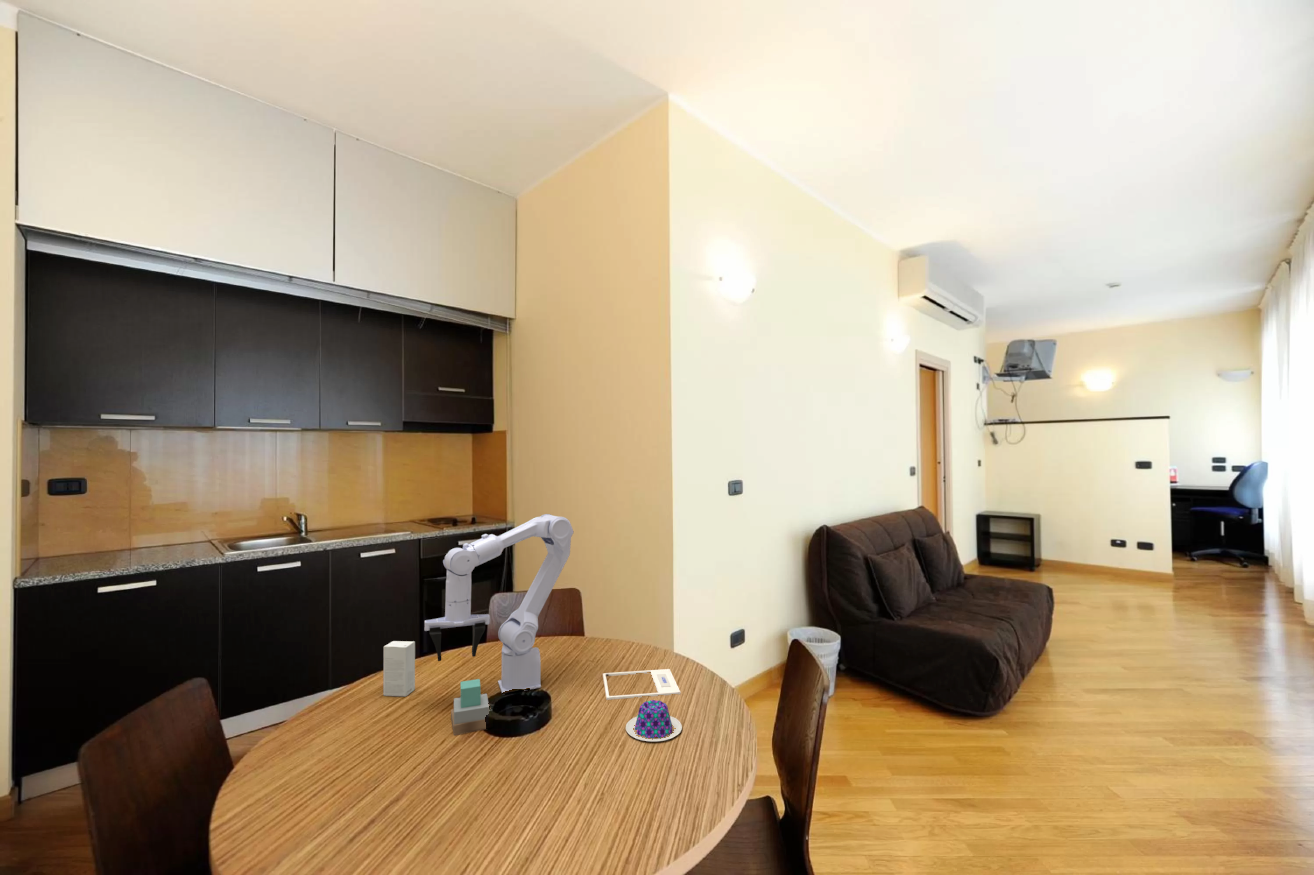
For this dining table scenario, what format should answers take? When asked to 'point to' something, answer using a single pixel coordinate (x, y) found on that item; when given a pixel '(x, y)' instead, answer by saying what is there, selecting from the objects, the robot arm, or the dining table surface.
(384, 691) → the skincare box
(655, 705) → the pudding
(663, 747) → the dining table surface
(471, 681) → the teal block
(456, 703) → the tower top
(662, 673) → the photo frame
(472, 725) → the tower base
